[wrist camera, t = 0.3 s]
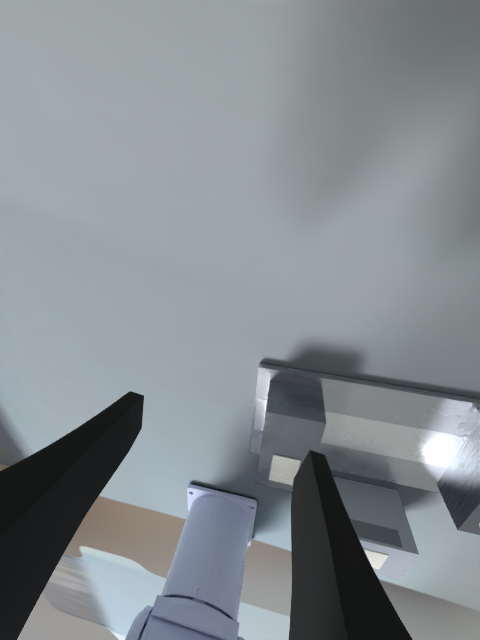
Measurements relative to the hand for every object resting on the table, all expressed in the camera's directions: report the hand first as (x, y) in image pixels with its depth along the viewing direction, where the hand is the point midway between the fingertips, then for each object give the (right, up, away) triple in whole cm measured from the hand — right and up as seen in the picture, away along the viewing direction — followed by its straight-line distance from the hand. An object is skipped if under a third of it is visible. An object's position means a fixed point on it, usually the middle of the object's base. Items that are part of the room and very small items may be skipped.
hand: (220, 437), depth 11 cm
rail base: (+12, -4, +11) cm, 17 cm away
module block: (+12, -12, +15) cm, 23 cm away
